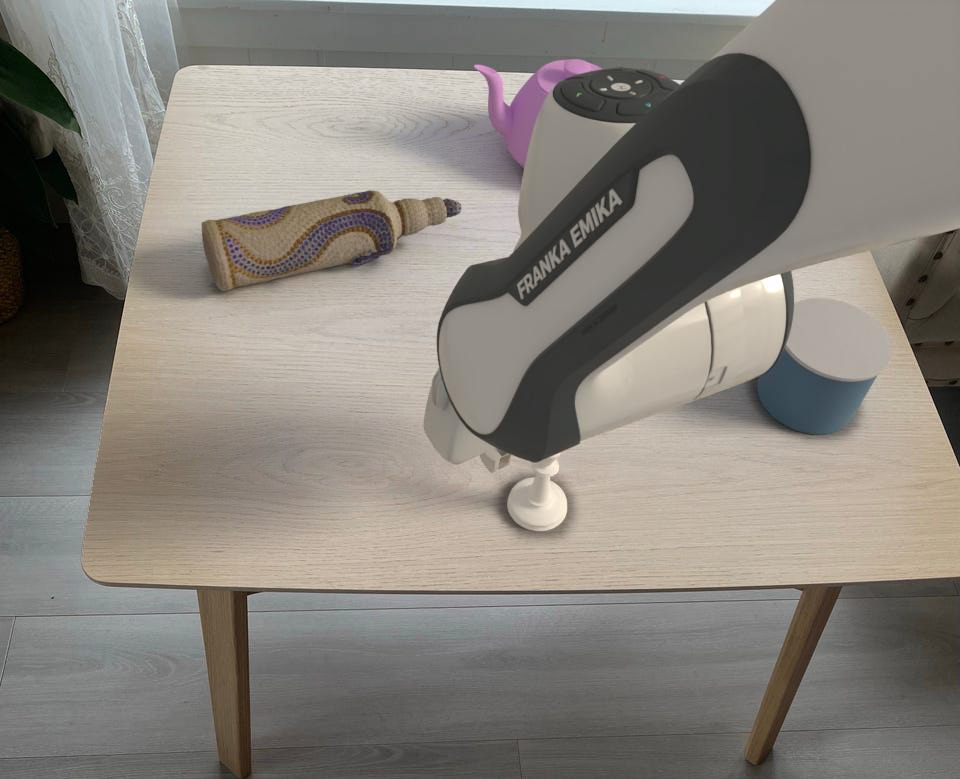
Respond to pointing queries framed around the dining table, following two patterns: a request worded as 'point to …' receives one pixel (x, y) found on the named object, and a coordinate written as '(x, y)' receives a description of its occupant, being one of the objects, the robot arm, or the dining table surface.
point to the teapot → (526, 102)
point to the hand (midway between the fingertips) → (546, 437)
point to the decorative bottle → (314, 235)
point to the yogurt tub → (825, 366)
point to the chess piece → (538, 498)
